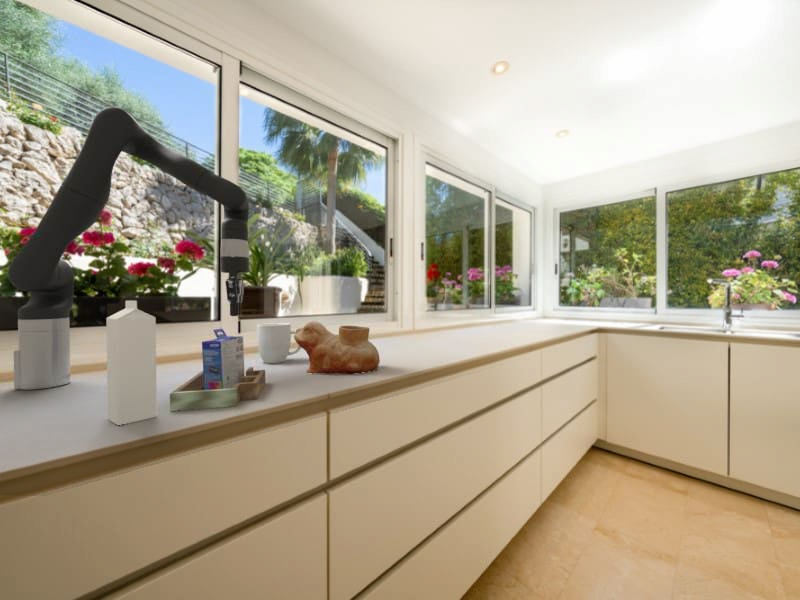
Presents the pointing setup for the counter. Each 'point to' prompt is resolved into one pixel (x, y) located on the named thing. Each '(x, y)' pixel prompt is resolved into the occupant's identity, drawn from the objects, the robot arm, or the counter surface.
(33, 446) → the counter surface
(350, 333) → the ceramic vessel
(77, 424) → the counter surface
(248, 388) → the wooden compartment tray
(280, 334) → the mug
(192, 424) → the counter surface
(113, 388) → the milk
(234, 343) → the ink cartridge box
